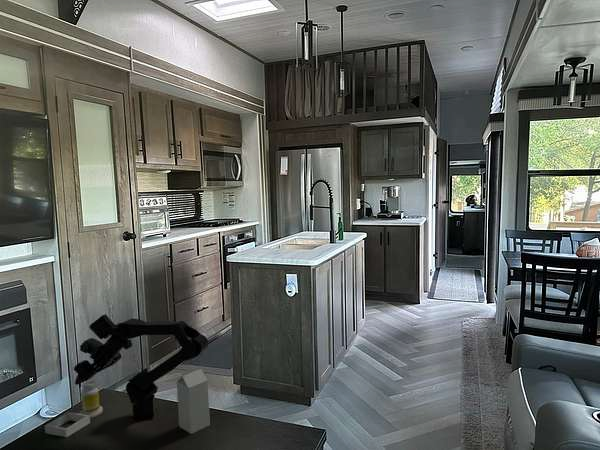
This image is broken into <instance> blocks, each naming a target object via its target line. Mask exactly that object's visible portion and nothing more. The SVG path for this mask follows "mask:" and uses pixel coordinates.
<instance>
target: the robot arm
mask: <svg viewBox="0 0 600 450" xmlns="http://www.w3.org/2000/svg"><path fill="white" fill-rule="evenodd" d="M88 328H89V329H90V330H91V331H92V332H93V333H94V334H95V335H96V337H98V339H99V340H98V339H96V338H93V337H90V338H88V339H86V340H84V341H83V342H82V343H81V345H79V351H81V352H82V353H84V354H89V358H90V359H91V360H93V363H91V362H90V361H88V360H87V359H85V360H81V361H79V362H78V363H77V364H75V366H74V367H73V370H74V372H75V373H77V376H76V379H75V382H74V384H75V385H76V386H78V385H80V384H84V383H86V382H89V381H90V380H91V379H92V378H94V376H96V374H98V373H100V372H101V371H103V370H105V369H108V368H110V367H111V366H113V365H115V364H117V363H118V362H119V361H120V360H121V359H122V353H120V352H121V351H122V349H124V350H126V351H127V350H128V349H130V348H132V347H133V342H132V339H134V338H138V337H141V336H174V337H175V339H176V340H177V342H178V343H179V346H180V347H181V348H179V350H178V351H177V352H175V353H174V354H173V355H171V356H170V357H169V358H167V359H165V360H164V361H162V362H161V363H159V365H156V366H155V367H154V368H152V369H150V370H148V367H145V368H143V369H142V370H141V371H140V372H138V373H136V374H135V375H133V376H132V377H131V378H129V379H128V380H127V381H128V382H127V383H126V384H125V391H126V393H127V395H128V398H129V400H130V403H131V404H132V416H133V418H132V419H133V421H134V422H135V421H144V420H153V419H154V418H155V416H156V413H157V411H158V409H157V408H156V398H155V397H156V396H155V394H156V393H157V392H158V389H159V387H158V386H157V385H156V384H155V382H156V381H157V380H158V379H160V378H161V377H162V376H165V375H166V374H167V373H168V372H170V371H172V370H173V369H175V368H176V367H177V366H179V365H180V364H182V363H183V362H187V361H190V360H192V359H194V358H197V357H198V356H199V355H201V354H202V353H203V352H204V351H205V350H207V348H208V346H209V341H208V338H207V337H206V336H205V335H204V334H202V333H200V331H198V330H197V329H196V328H194V327H192V326H190V325H189V324H187V322H186V321H184V320H179V321H144V320H143V319H139V318H129V319H127V320H125V321H123V322H119V323H116V324H115V322H113V321H112V320H111V319H110V318H109V316H108V315H107V314H103V315H101V316H100V317H98V318H97V319H96V320H95V321H93V322H92V323H90V325H89V326H88ZM103 339H104V340H106V341H105V342H104V343H102V341H100V340H103Z"/></svg>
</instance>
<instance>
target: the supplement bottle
mask: <svg viewBox="0 0 600 450" xmlns="http://www.w3.org/2000/svg"><path fill="white" fill-rule="evenodd" d="M96 383H97V382H96V381H94V380H89V381H85V382H83V383H82V384H83V387H82V388H83V390H82V391H81V393H80V394H81V408H82V409H81V410H82V411H83V413H84V414H90V413H94V412H96V411H98V410H99V406H100V395H99V394H100V393H99V392H100V391H99V388H98V387H97V384H96Z"/></svg>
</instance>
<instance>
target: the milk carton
mask: <svg viewBox="0 0 600 450" xmlns="http://www.w3.org/2000/svg"><path fill="white" fill-rule="evenodd" d="M208 382H209V381H208V378H207V377H206V375H205V373H204V371H203V370H202V365H199V366H196V367H192V368H190V369H187V370H184V371H182V372H181V375H180V377H179V379H178V380H177V381H176V392H177V393H176V394H177V407H178V425H179V426H178V427H179V428H180V429H182V430H184V431H186V432H187V433H189V434H190V435H192V434H195V433H197V432H199V431H200V430H203V429H205V428H207V427H209V426H210V425H211V420H210V418H211V417H210V402H209V401H210V399H209V398H210V397H209V383H208Z"/></svg>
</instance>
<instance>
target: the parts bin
mask: <svg viewBox="0 0 600 450" xmlns="http://www.w3.org/2000/svg"><path fill="white" fill-rule="evenodd" d="M69 421H72V422H74V423H73V424H71V425H69V426H68V427H66V428H65V427H61V426H62V425H64V424H66V423H67V422H69ZM89 424H91V418H90V415H84V414H79V412H78V413H77V412H71V411H69V412H67V413H65V414H63V415H61V416H60V417H57V418H56V419H54V420H53V421H50V422H48V423H47V424H46V425H44V433H45V434H49V435H53V436H58V437H64V438H68V437H70V436H71V435H73V434H74V433H76V432H78V431H79V430H81V429H82V428H85V426H87V425H89Z"/></svg>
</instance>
